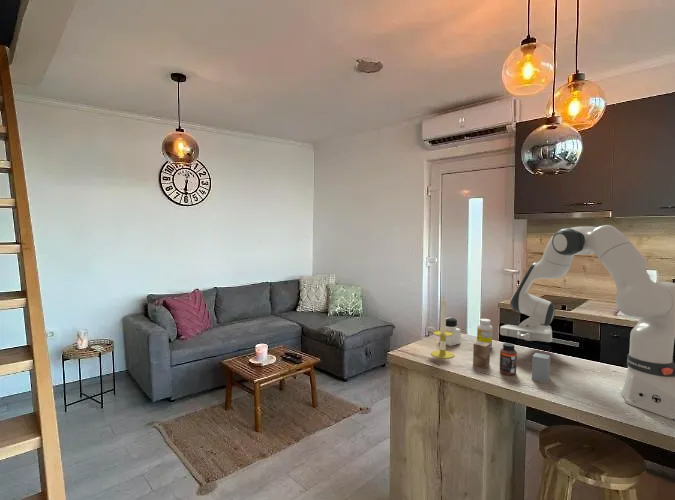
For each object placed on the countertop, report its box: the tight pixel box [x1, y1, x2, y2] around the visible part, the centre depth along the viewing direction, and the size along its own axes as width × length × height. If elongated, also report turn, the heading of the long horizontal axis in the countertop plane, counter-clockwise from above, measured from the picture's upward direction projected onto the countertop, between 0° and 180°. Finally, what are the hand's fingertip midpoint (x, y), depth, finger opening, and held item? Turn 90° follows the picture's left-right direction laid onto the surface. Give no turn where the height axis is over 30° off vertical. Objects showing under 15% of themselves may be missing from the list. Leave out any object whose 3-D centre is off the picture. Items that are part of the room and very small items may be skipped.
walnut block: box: [472, 340, 491, 369], centre depth 158 cm, size 5×5×9 cm
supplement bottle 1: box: [476, 318, 493, 349], centre depth 181 cm, size 7×7×13 cm
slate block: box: [531, 352, 552, 384], centre depth 144 cm, size 5×5×9 cm
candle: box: [430, 295, 455, 360], centre depth 170 cm, size 10×10×27 cm
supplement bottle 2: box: [499, 342, 518, 376], centre depth 150 cm, size 6×6×11 cm
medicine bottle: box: [439, 317, 462, 347], centre depth 187 cm, size 7×7×12 cm
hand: (520, 336), depth 160 cm, fingers closed
